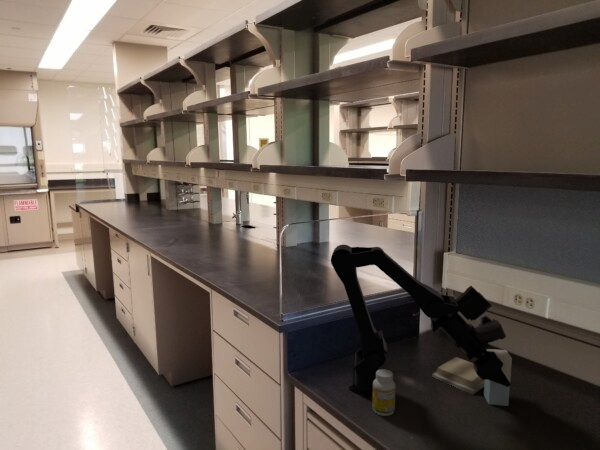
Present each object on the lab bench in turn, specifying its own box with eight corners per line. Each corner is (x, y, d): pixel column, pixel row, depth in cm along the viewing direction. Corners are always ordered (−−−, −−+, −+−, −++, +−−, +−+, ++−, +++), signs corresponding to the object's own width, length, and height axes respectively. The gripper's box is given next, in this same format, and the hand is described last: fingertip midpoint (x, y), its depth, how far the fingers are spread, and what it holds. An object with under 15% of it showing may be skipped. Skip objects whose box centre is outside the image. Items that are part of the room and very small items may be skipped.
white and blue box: (488, 404, 107) (491, 356, 105) (483, 394, 111) (486, 348, 109) (508, 406, 106) (511, 358, 104) (502, 396, 111) (505, 350, 109)
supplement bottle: (392, 418, 101) (393, 380, 99) (369, 413, 103) (370, 376, 101) (396, 406, 106) (397, 370, 104) (374, 402, 108) (375, 366, 106)
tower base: (431, 377, 120) (432, 367, 120) (454, 364, 128) (454, 354, 127) (472, 394, 111) (473, 384, 111) (494, 379, 119) (494, 369, 118)
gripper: (496, 324, 97) (544, 374, 97) (475, 299, 115) (516, 340, 115) (457, 355, 99) (505, 404, 99) (443, 325, 117) (483, 366, 117)
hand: (503, 376), depth 108 cm, fingers open, 9 cm apart
